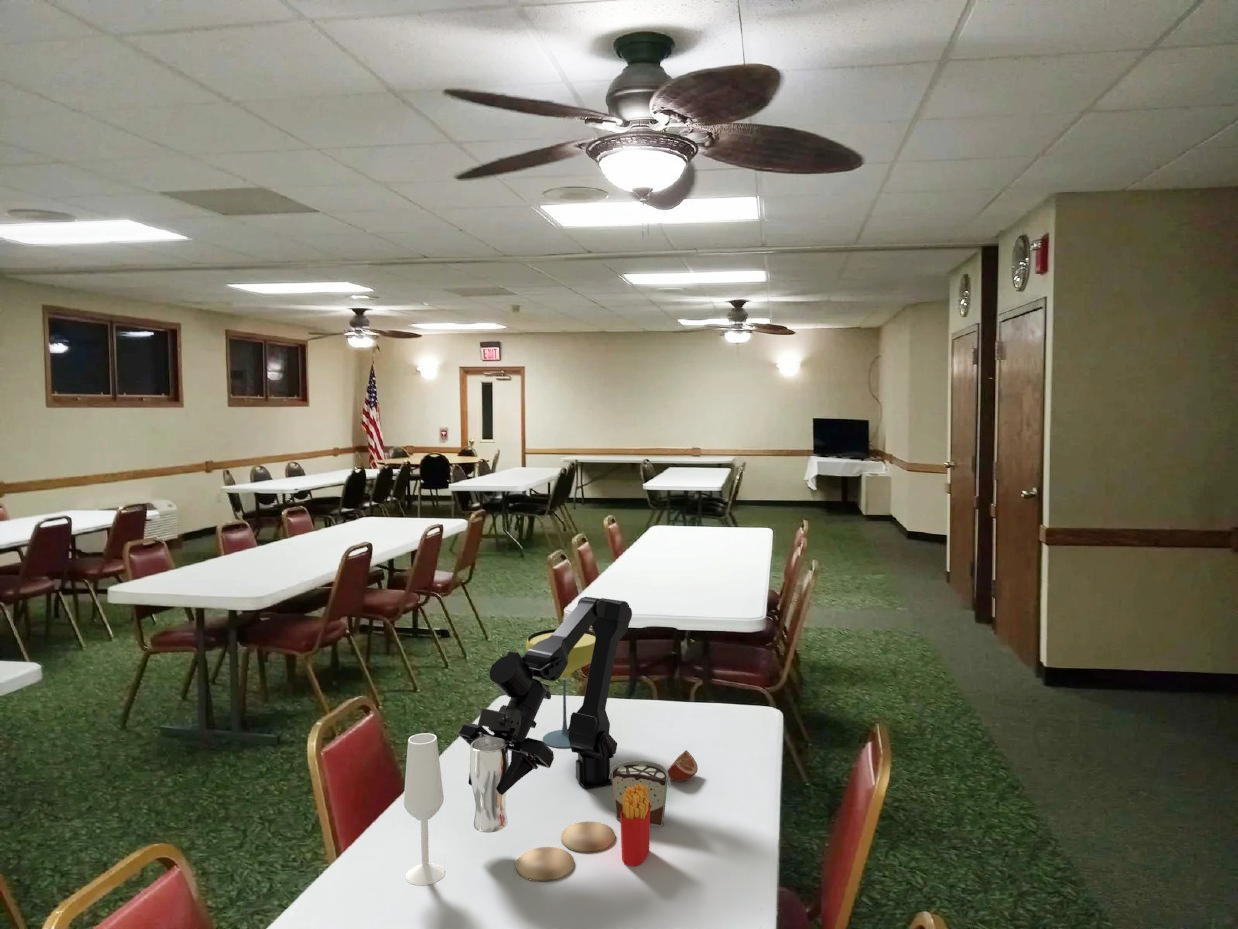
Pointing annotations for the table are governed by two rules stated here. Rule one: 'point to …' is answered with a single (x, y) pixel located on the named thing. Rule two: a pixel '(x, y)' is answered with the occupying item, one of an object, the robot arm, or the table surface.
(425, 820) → the champagne flute
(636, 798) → the french fries
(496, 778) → the beer glass
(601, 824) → the coaster
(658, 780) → the food container
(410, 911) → the table surface
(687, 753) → the fruit slice
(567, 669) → the cocktail glass
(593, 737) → the robot arm
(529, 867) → the coaster
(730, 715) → the table surface
